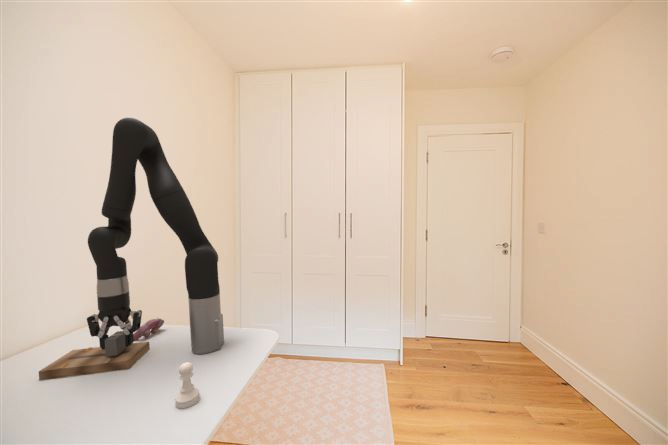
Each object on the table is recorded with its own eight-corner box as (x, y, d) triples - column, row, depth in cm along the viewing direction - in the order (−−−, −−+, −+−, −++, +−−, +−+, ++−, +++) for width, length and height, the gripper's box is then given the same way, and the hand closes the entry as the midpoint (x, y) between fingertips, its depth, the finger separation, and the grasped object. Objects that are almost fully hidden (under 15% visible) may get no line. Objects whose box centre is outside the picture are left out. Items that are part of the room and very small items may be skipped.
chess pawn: (194, 391, 66) (192, 355, 66) (203, 399, 63) (201, 361, 63) (171, 403, 63) (169, 364, 62) (180, 412, 59) (178, 372, 59)
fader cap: (128, 346, 86) (127, 330, 86) (117, 355, 80) (116, 338, 80) (118, 347, 85) (116, 331, 85) (105, 356, 80) (104, 339, 79)
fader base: (149, 348, 90) (149, 340, 90) (129, 369, 78) (128, 359, 78) (73, 357, 86) (72, 349, 86) (39, 380, 74) (38, 370, 74)
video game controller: (139, 345, 96) (145, 328, 95) (129, 339, 97) (135, 322, 96) (162, 333, 105) (168, 318, 105) (152, 328, 106) (158, 312, 105)
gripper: (146, 286, 87) (149, 338, 88) (95, 290, 85) (98, 344, 85) (133, 293, 80) (136, 350, 80) (76, 298, 77) (80, 356, 78)
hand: (117, 346), depth 83 cm, fingers open, 5 cm apart
